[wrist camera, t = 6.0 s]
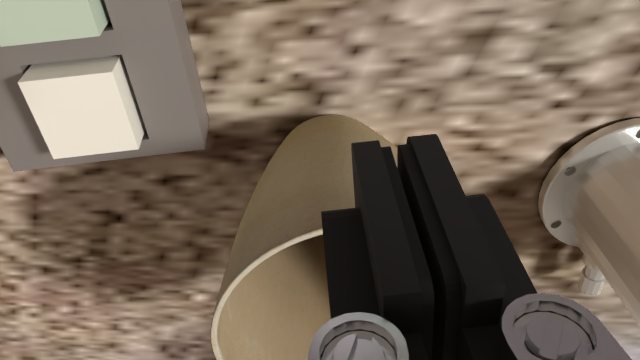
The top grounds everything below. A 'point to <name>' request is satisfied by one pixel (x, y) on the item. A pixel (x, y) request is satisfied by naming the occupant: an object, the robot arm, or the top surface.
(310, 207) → the plant pot
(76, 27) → the sage button
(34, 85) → the cream button
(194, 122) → the button panel
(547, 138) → the top surface
